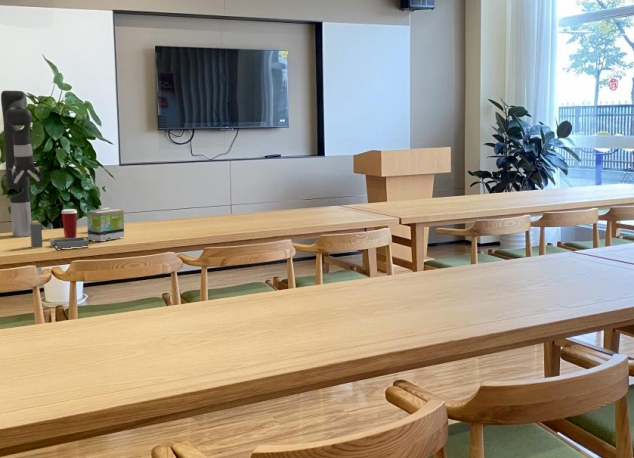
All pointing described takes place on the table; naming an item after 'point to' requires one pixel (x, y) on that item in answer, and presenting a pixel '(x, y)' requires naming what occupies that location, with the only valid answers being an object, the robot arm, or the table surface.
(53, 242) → the cable clip
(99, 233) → the tea box
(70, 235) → the paper cup
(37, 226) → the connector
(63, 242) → the end holder
